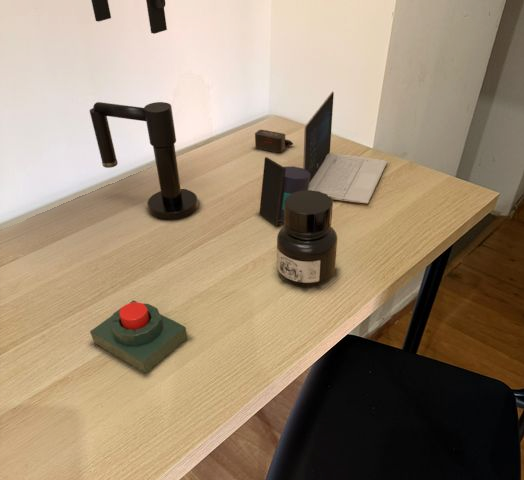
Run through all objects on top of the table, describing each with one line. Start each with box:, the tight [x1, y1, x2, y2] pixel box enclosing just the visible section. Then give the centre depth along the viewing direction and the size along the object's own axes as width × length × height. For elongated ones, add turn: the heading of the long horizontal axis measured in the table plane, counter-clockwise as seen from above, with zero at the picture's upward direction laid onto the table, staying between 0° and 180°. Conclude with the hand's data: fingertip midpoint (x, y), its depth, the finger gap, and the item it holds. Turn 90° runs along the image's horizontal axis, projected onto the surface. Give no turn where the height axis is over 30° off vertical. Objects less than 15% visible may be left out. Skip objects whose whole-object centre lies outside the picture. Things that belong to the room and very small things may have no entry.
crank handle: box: [89, 101, 177, 169], centre depth 91 cm, size 16×4×12 cm, turn 69°
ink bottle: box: [276, 190, 338, 288], centre depth 79 cm, size 10×9×12 cm
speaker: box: [258, 156, 311, 228], centre depth 91 cm, size 8×6×10 cm
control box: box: [89, 299, 188, 374], centre depth 71 cm, size 10×8×4 cm
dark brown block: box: [254, 129, 294, 154], centre depth 114 cm, size 5×7×3 cm, turn 63°
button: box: [119, 301, 149, 330], centre depth 69 cm, size 4×4×2 cm
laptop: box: [302, 90, 388, 204], centre depth 99 cm, size 18×12×13 cm
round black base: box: [147, 144, 199, 221], centre depth 94 cm, size 9×9×12 cm
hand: (130, 25), depth 87 cm, fingers open, 13 cm apart
